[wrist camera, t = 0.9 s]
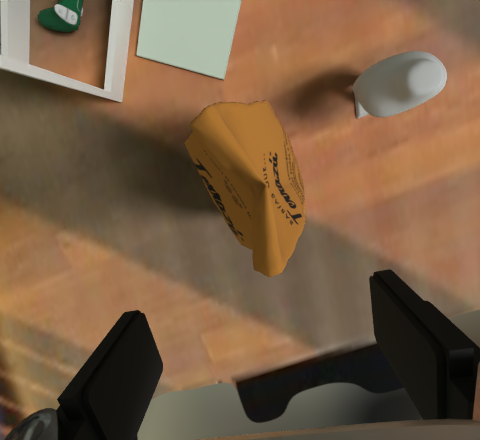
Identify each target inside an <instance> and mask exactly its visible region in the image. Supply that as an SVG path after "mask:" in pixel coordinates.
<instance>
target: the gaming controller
mask: <svg viewBox="0 0 480 440" xmlns="http://www.w3.org/2000/svg"><path fill="white" fill-rule="evenodd" d="M82 4H83V0H59V3H58V4H56V5H55V7H53V8H48V9H45V10H42V11H40V13H39V14H38V19H39V22H40V23H41V25H42V26H44V27H45V28H48V29H52V30H56V31H61V32H72V31H75V30H78V25H80V17H81V16H82V13H83V8H82Z"/></svg>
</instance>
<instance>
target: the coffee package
mask: <svg viewBox="0 0 480 440" xmlns="http://www.w3.org/2000/svg"><path fill="white" fill-rule="evenodd" d="M190 128H191V129H192V130H193V132H192V134H191V135H190V136H189V139H188V140H186V141H185V142H184V144H185V146H186V148H187V150H188V152H189V154H190V156H191V158H192V160H193V162H194V164H195V166H196V168H197V170H198V172H199V174H200V177H201V178H202V180H203V182H204V184H205V186H206V188H207V190H208V192H209V194H210V196H211V198H212V200H213V201H214V203H215V204H216V206H217V207H218V209H219V211H220V212H221V214H222V216H223V217H224V219H225V221H226V223H227V225H228V226H229V228H230V229H231V230H232V232H233V233H234V235H235V237H236V238H237V240H238V241H239V242H240V244H241V245H243V246H245V247H247V248H249V249H252V250H253V266H254V270H255V271H258V272H260V273H262V274H264V275H266V276H268V277H272V276H274V275H277V274H280V273H281V272H282V271H283V269H284V268H285V266H286V263H287V260H288V258H290V257H291V255H292V253H293V251H294V249H295V245H296V243H297V240H298V238H299V236H300V235H301V233H302V231H303V227H304V223H305V198H304V185H303V181H302V177H301V174H300V171H299V168H298V164H297V160H296V157H295V154H294V151H293V149H292V146H291V143H290V141H289V139H288V136H287V134H286V132H285V130H284V128H283V126H282V124H281V123H280V121H279V119H278V117H277V115H276V114H275V112H274V110H273V108H272V107H271V105H270V104H269V102H268V101H266V100H264V101H262V102H259V101H256V102H253V103H250V104H244V103H236V102H219V103H215V104H213V105H210V106H208V107H206V108H204V110H203V111H202V113H201V114H200V115H199V116H198V117H196V118H195V120H193V121H192V122H191V124H190Z"/></svg>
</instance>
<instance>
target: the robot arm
mask: <svg viewBox="0 0 480 440" xmlns="http://www.w3.org/2000/svg"><path fill="white" fill-rule="evenodd" d="M369 281H370V292H371V303H372V314H373V324H374V334H375V338H376V341H377V343H378V345H379V347H380V348H381V350H382V352H383V353H384V355H385V357H386V358H387V360H388V362H389V363H390V365H391V367H392V368H393V370H394V372H395V373H396V375H397V377H398V378H399V380H400V381H401V383H402V385H403V386H404V388H405V390H406V391H407V393H408V395H409V396H410V398H411V400H412V401H413V403H414V404H415V406H416V408H417V410H418V411H419V413H420V415H421V416H422V418H423V420H411V421H397V422H383V423H369V424H357V425H346V426H335V427H324V428H313V429H302V430H291V431H281V432H280V431H279V432H270V433H260V434H250V435H249V434H248V435H239V436H228V437H218V438H209V439H197V440H480V348H479V347H478V346H477V345H476V344H475V343H474V342H473V341H472V340H470V339H469V338H468V337H467V336H466V335H465V334H464V333H463V332H462V331H461V330H460V329H459V328H457V327H456V326H455V325H454V324H453V323H452V322H451V321H450V320H449V319H448V318H447V317H446V316H444V315H443V314H442V313H441V312H440V311H439V310H438V309H437V308H436V307H435V306H434V305H433V304H431V303H430V302H429V301H424V300H423V299H421V298H420V297H419V296H418V295H417V294H416V293H415V292H414V291H413V290H412V289H411V288H410V287H409V286H408V285H407V284H406V283H405V282H404V281H402V280H401V279H400V278H399V277H398V276H397V275H396V274H395V273H394V272H393V271H392V270H383V271H377V272H374V276H370V278H369ZM162 371H163V362H162V360H161V357H160V354H159V351H158V349H157V346H156V343H155V341H154V338H153V335H152V333H151V330H150V327H149V325H148V322H147V319H146V316H145V314H144V313H141V312H140V311H139V310H135V311H129V312H125V313H123V314H122V316H121V317H120V318H119V320H118V321H117V322H116V324H115V325H114V326H113V327H112V329H111V330H110V331H109V333H108V334H107V335H106V337H105V338H104V339H103V340H102V342H101V343H100V344H99V346H98V347H97V348H96V350H95V351H94V352H93V353H92V355H91V356H90V357H89V359H88V360H87V361H86V363H85V364H84V365H83V366H82V368H81V369H80V370H79V372H78V373H77V374H76V376H75V377H74V378H73V379H72V381H71V382H70V383H69V385H68V386H67V387H66V389H65V390H64V391H63V393H62V394H61V395H60V396H59V398H58V399H57V400H58V402H59V404H60V406H59V407H58V409H57V410H55V409H53V408H45V409H42V410H39V411H37V412H35V413H33V414H31V415H30V416H28V417H27V418H25V419H24V420H22V421H21V422H20V423H19V424H18V425H17V426H15V427H14V428H13V429H12V430H11V432H10V433H9V434H8V435H7V436H6V438H5V439H4V440H135V438H136V436H137V433H138V430H139V428H140V426H141V423H142V421H143V418H144V416H145V413H146V411H147V408H148V406H149V403H150V401H151V399H152V396H153V394H154V391H155V389H156V386H157V384H158V381H159V379H160V376H161V374H162Z"/></svg>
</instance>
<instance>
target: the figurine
mask: <svg viewBox="0 0 480 440" xmlns="http://www.w3.org/2000/svg"><path fill="white" fill-rule="evenodd" d="M446 80H447V73H446V69H445V67H444V65H443V64H442V63H441V61H440V60H439V59H438V58H436V57H435V56H433V55H432V54H429V53H426V52H421V51H412V52H406V53H402V54H398V55H395V56H392V57H389V58H386V59H384V60H382V61H380V62H378V63H376V64H374V65H373V66H371V67H370V68H368V69H367V70H365V71H364V72H363V73H362V74H361V75H360V76H359V77H358V78H357V80H356V81H355V83H354V85H353V89H352V90H353V92H354V95H355V106H356V117H357V119H358V118H361V117H363V116H365V115H368V114H370V115H372V116H375V117H388V116H392V115H396V114H399V113H401V112H404V111H406V110H409V109H411V108H413V107H416V106H418V105H420V104H422V103H424V102H426V101H427V100H429V99H431V98H433V97H434V96H435V95H437V94H438V93H439V92H440V91H441V90H442V89H443V88H444V86H445V83H446Z"/></svg>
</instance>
